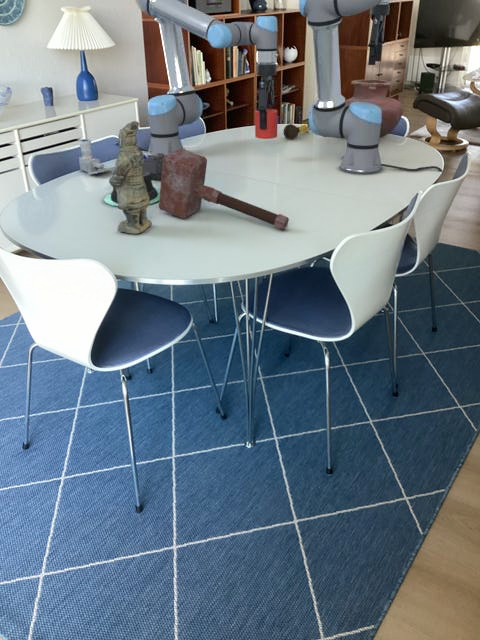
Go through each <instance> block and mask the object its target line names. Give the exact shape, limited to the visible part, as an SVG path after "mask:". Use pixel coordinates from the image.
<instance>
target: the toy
mask: <svg viewBox="0 0 480 640" xmlns="http://www.w3.org/2000/svg"><path fill="white" fill-rule="evenodd" d="M142 153H143V156H144V166H143V169H144V170H146V171H147V172H149V173H150V175H151V180H157V181H161V175H162V166H163V158H164V156H165V155H164V154H163V153H158V154H157V155H156V156H155V155H148V154H147V156H146V154H145V153H144V152H143V151H142Z"/></svg>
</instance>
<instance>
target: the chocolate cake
mask: <svg viewBox="0 0 480 640" xmlns="http://www.w3.org/2000/svg"><path fill="white" fill-rule="evenodd" d="M113 175H114V171H112V173H111V176H113ZM143 178H144V182H145V184H146V188H147V192H148V195H149V197H150V204H154V203H157V202H159V198H160V188H156V187H154V185H153V182H152V179H151V175H150V173H149V172H147V171H146V170H144V169H143ZM103 200H104V202H105V203H106V204H108V205H109V206H115V207H118V202H117V192H116V189H115V188H114V187H112V191H111V193H108V194H107V195H106V196H104V198H103ZM150 204H149V205H150Z"/></svg>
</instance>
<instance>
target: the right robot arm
mask: <svg viewBox="0 0 480 640" xmlns="http://www.w3.org/2000/svg"><path fill="white" fill-rule="evenodd" d="M391 2H392V1H391V0H298V10H299V13H300V14H301V16H303V17H304V18H306V20H307V26H308V27H309V28H311V30H312V41H313V55H314V69H315V83H316V94H317V95H316V99H314V101H313V104H312V105H311V106H310V108H309V112H308V113H309V115H308V123H309V125H310V128H311V130H310V131H311V132H312V133H313V134H314V135H316V136H320V137H322V138H334V139H342V140H343V139H345V140H346V149H345V151H344V154H343V156H341V157H340V161H341V162H340V170H341V171H343V172H345V173H349V174H355V175H356V174H357V175H369V174H370V175H371V174H376V173H378V172H380V171H382V167H385V168H391V169H396V170H402V171H408V172H416V171H420V170H421V171H422V170H429V169H436V170H437V171H439V172H443V170H442V168H441V167H439V166H435V165H430V166H420V167H417V168H409V167H408V168H407V167H402V166H397V165H391V164H386V163H382V161H381V155H380V150H379V147H380V145H379V144H380V138H379V137H380V128H381V122H382V119H381V116H382V111H381V109H380V107H378V106H377V105H374V104H370V103H365V102H353V103H351V104H350V106H346V104H345V100H346V97H345V96H344V95H342V88H341V85H342V84H341V66H340V42H339V41H340V39H339V25H340V23H341V22H342V21H343V17H349V16H351V17H352V16H355V15H358V14H361V13H363V12H366V11H368V10H369V15H370V16H371V17H372V16H374V18H372V24H371V30H370V37H369V41H368V44H367V48H369V51H368V52H369V53H368V66H376V62H378V63H379V62H382V54H383V45H385V39H384V38H385V19H386V18H385V16H388V15H390V7H391V5H390V3H391Z"/></svg>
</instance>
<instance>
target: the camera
mask: <svg viewBox="0 0 480 640" xmlns="http://www.w3.org/2000/svg"><path fill="white" fill-rule="evenodd" d="M78 142H79V143H78V144H79V147H80V150H81V156H79V157H78V164H79V169H80V171H82V172H84V173H87V175H88V176H89V175H96V174H100V173H104V172H107V171H112V170H115V166H111V167H106V168H105V165H104V163H101V159H100V158H97V157H94V156H93V151H92V139H90V138H81V139H78Z"/></svg>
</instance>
